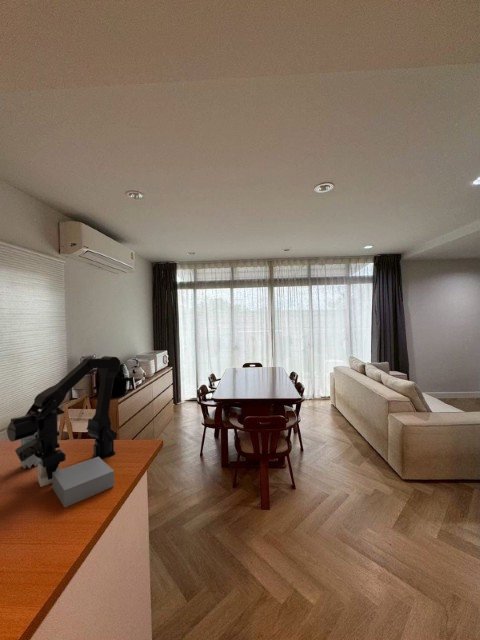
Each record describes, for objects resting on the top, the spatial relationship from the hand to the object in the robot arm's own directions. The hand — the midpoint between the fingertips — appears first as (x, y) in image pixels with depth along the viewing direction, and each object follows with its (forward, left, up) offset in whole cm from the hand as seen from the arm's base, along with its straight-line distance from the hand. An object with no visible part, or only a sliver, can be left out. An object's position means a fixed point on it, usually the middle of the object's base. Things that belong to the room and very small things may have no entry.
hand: (48, 476), depth 93 cm
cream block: (0, 0, -2) cm, 2 cm away
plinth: (-7, +13, -2) cm, 15 cm away
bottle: (+2, -17, -2) cm, 17 cm away
